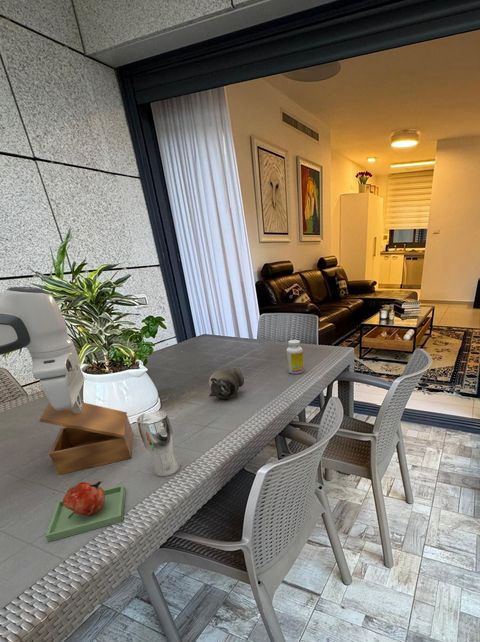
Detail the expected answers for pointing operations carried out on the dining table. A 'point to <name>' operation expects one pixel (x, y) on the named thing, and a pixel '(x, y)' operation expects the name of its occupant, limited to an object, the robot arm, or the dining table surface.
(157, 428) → the beer glass
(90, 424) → the box lid
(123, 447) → the warming box
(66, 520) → the tray
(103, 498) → the pomegranate
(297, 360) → the supplement bottle
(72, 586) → the dining table surface
